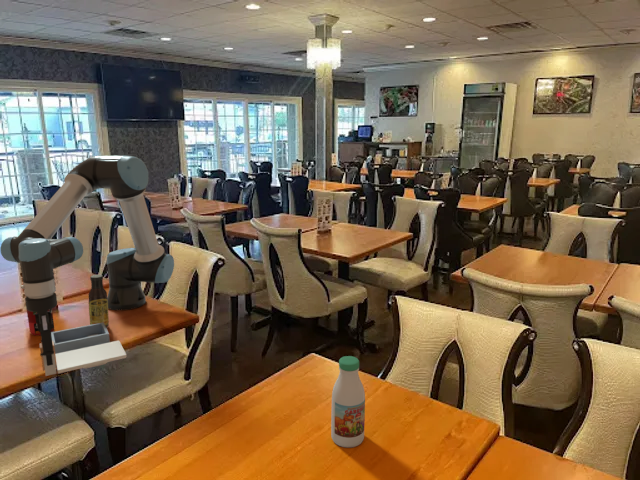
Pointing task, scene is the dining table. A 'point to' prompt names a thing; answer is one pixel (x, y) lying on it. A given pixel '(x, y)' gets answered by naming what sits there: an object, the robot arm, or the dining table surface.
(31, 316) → the canned food
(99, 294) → the sauce bottle
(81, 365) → the lid
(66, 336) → the tub
